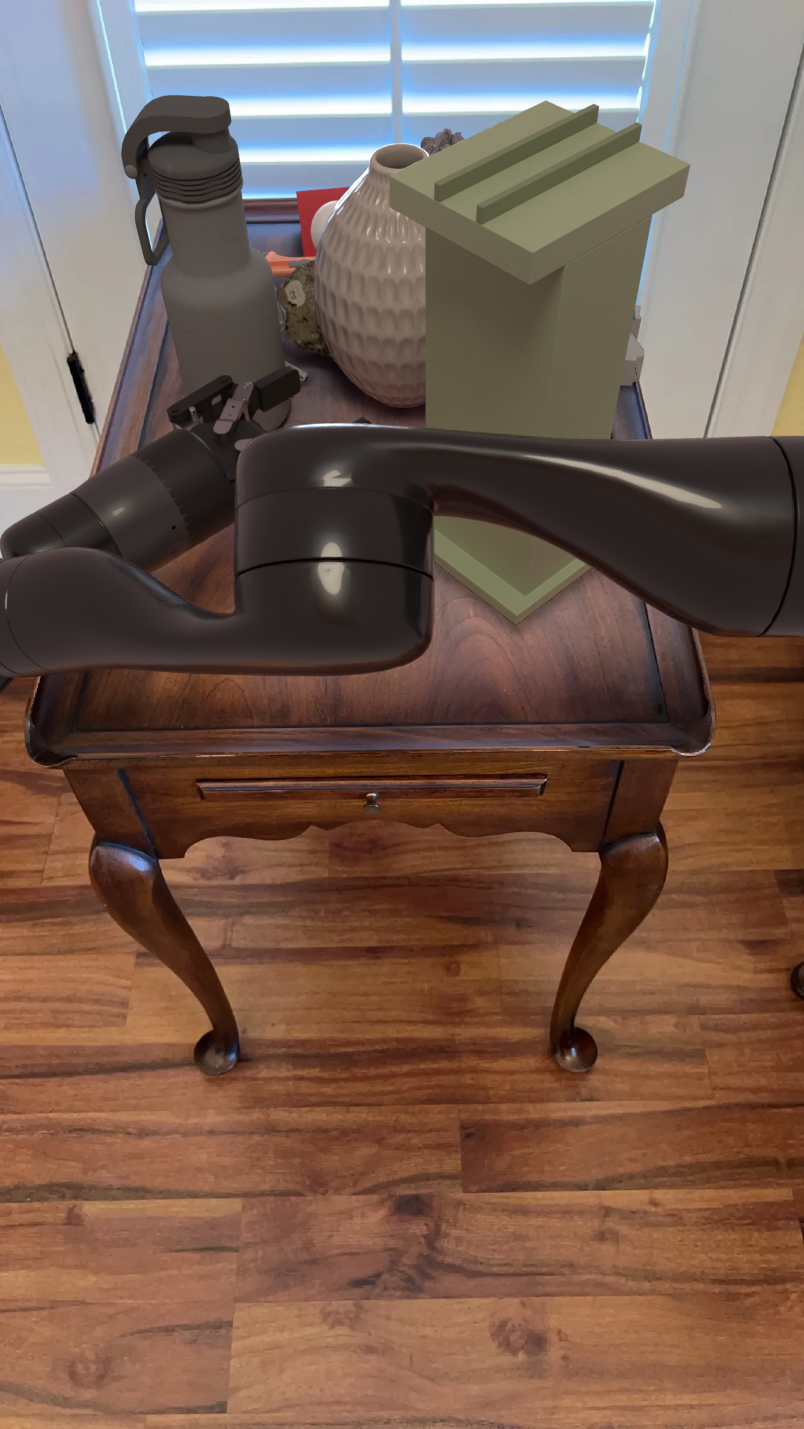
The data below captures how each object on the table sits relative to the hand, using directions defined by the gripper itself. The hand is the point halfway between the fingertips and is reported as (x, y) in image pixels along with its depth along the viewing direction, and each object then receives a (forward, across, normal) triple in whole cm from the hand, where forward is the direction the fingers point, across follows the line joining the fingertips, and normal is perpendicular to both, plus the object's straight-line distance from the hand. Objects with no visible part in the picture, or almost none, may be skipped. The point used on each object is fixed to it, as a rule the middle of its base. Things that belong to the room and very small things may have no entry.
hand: (332, 402), depth 75 cm
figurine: (+18, +24, +6) cm, 30 cm away
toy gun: (+31, +2, +14) cm, 34 cm away
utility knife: (+17, +37, +12) cm, 42 cm away
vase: (+18, +13, +15) cm, 27 cm away
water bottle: (+4, +21, +15) cm, 26 cm away
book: (+29, +31, +15) cm, 45 cm away
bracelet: (+12, +28, +15) cm, 34 cm away
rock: (+18, +20, +15) cm, 31 cm away
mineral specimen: (+38, +29, +1) cm, 48 cm away
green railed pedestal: (+10, -10, +15) cm, 20 cm away
